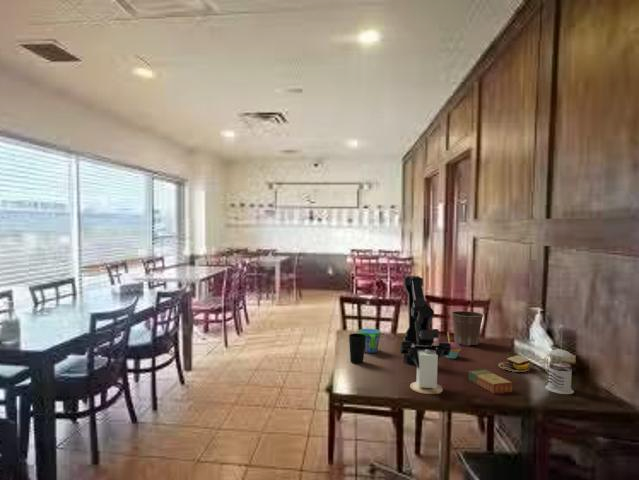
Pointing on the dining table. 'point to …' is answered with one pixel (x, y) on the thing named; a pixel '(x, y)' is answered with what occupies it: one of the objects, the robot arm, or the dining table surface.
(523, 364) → the toy sandwich meal
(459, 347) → the cupcake
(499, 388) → the carton
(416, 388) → the cork mat
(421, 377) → the cover
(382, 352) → the dining table surface
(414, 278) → the robot arm
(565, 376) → the french press
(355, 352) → the cup
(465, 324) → the plant pot
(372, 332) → the snack cup
